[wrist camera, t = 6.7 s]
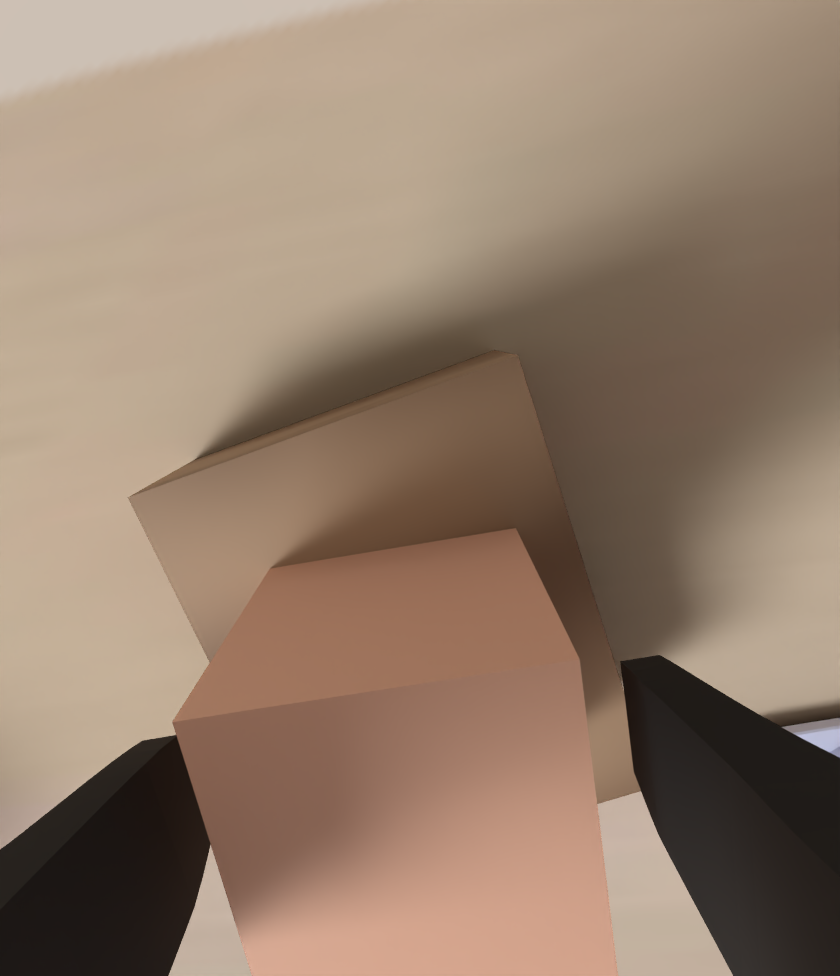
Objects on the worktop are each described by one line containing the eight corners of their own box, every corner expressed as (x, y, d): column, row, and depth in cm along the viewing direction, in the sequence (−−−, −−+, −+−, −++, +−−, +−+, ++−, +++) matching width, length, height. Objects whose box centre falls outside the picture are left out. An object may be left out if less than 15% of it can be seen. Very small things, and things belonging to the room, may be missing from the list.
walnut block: (601, 686, 17) (653, 787, 14) (341, 768, 18) (320, 886, 14) (492, 349, 15) (517, 355, 11) (199, 457, 16) (128, 497, 12)
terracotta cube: (546, 743, 13) (617, 977, 8) (322, 776, 14) (267, 1024, 9) (515, 527, 12) (579, 659, 7) (269, 568, 12) (172, 721, 7)
